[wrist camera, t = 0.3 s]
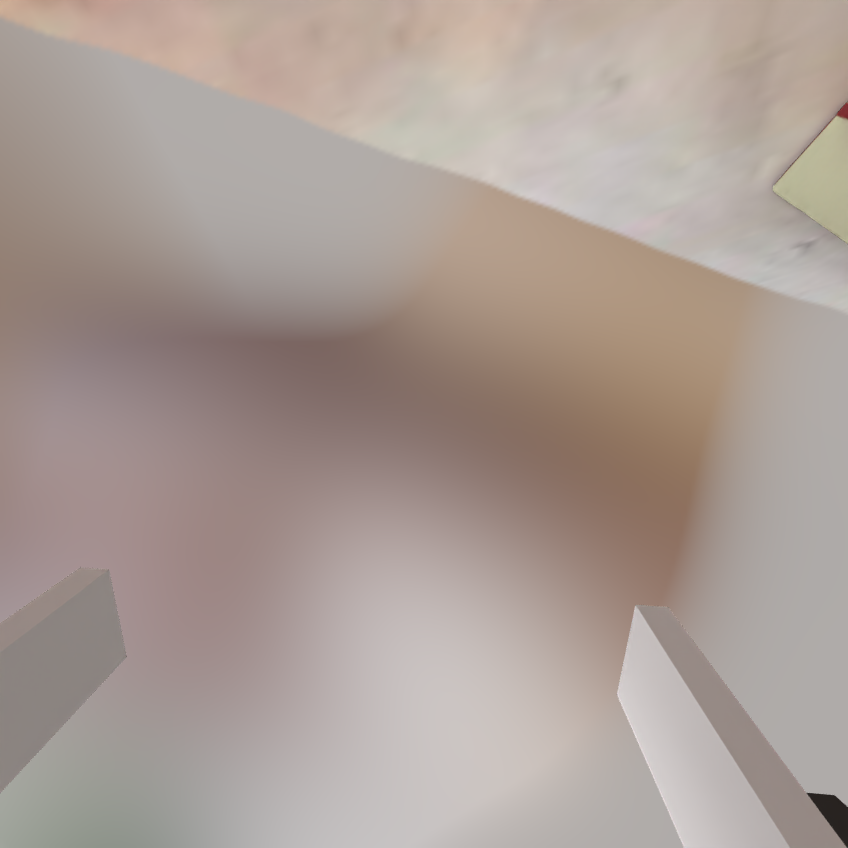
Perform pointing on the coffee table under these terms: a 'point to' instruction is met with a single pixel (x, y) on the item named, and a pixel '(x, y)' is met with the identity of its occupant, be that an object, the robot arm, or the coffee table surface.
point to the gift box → (822, 178)
